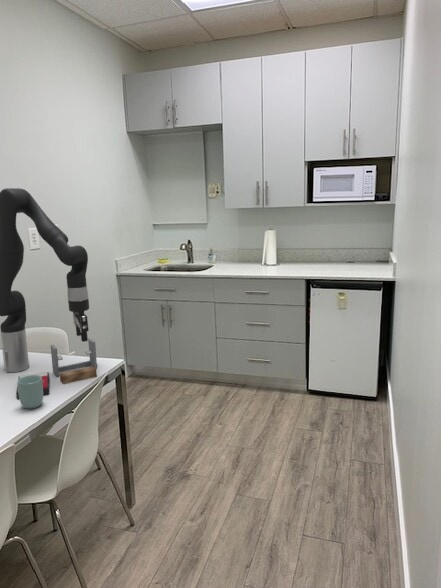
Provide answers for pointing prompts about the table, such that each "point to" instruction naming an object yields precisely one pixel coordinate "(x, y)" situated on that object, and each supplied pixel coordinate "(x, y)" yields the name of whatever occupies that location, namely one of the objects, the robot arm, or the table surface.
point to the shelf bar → (78, 375)
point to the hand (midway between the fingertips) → (82, 338)
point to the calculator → (44, 379)
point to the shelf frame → (92, 362)
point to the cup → (30, 391)
